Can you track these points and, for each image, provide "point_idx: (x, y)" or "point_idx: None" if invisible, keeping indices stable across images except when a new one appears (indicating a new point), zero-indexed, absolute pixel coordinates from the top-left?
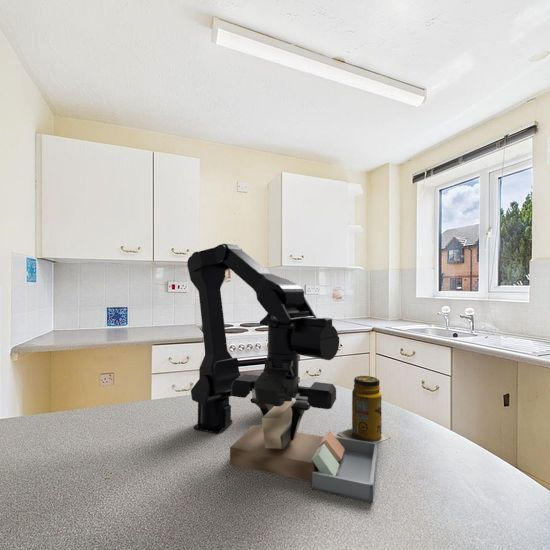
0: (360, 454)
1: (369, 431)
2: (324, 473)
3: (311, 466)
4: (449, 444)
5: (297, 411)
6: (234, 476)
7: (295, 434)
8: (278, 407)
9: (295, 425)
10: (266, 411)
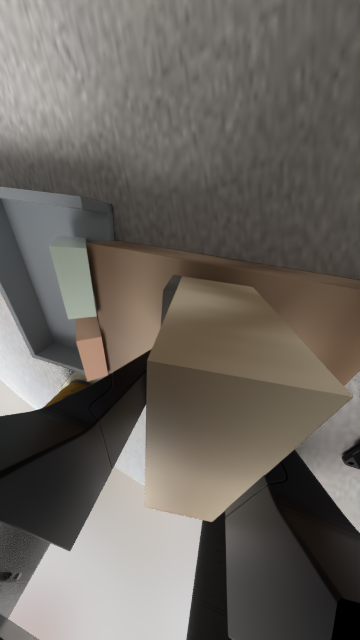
0: (71, 344)
1: (65, 393)
2: (78, 240)
3: (98, 243)
4: (5, 372)
5: (19, 428)
6: (355, 209)
7: None
8: (201, 491)
9: (122, 370)
10: (281, 479)
